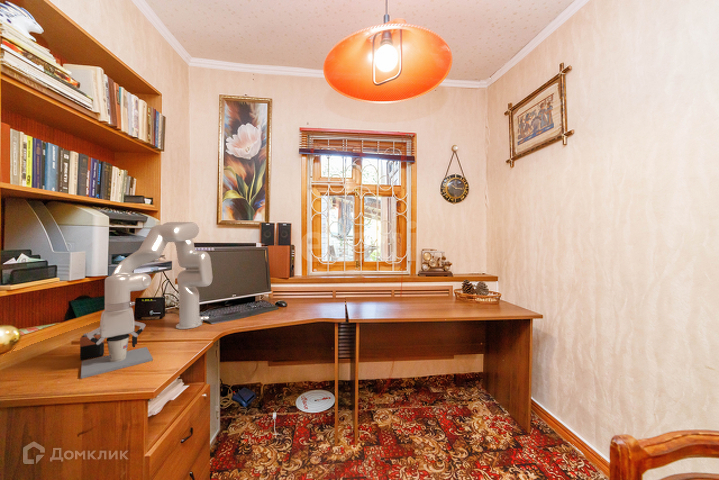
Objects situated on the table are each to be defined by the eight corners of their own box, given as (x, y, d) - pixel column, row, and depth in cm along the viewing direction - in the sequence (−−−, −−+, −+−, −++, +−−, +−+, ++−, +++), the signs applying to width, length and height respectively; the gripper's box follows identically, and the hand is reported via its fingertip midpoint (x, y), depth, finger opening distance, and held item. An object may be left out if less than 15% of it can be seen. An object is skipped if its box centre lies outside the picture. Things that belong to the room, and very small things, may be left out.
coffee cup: (103, 365, 102) (103, 338, 102) (109, 358, 108) (109, 333, 108) (127, 360, 105) (127, 335, 105) (131, 354, 111) (131, 330, 111)
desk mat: (146, 349, 119) (146, 346, 119) (152, 360, 108) (152, 357, 108) (81, 363, 105) (81, 361, 105) (80, 378, 94) (80, 375, 94)
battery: (81, 357, 111) (81, 333, 111) (104, 353, 115) (104, 329, 115) (79, 361, 107) (79, 336, 107) (103, 356, 112) (103, 332, 112)
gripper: (144, 301, 115) (144, 341, 115) (86, 309, 103) (86, 353, 103) (146, 304, 110) (146, 346, 110) (86, 312, 98) (86, 359, 98)
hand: (117, 349), depth 106 cm, fingers open, 9 cm apart
